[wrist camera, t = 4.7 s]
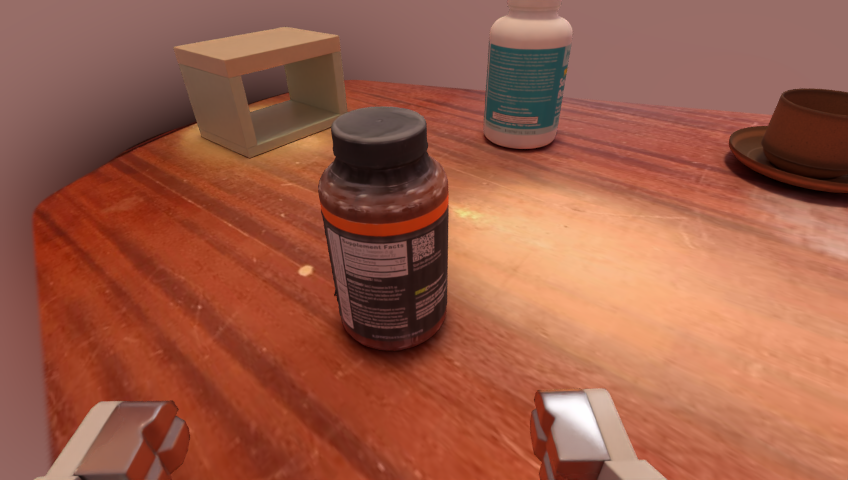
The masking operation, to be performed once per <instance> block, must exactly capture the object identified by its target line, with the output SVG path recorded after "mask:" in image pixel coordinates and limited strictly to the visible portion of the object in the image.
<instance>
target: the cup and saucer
mask: <svg viewBox="0 0 848 480" xmlns="http://www.w3.org/2000/svg"><path fill="white" fill-rule="evenodd" d="M729 147H730V149H731V151H732V152H733V154H734V155H735V157H736V158H737V159H738V160H739V161H741V162H742V163H743V164H744V165H746V166H747V167H749V168H751V169H752V170H754V171H756V172H758V173H760V174H762V175H765V176H767V177H769V178H772V179H775V180H778V181H780V182H784V183H787V184H791V185H794V186H798V187H803V188H807V189H813V190H819V191H826V192H836V193H848V92H842V91H835V90H826V89H793V90H788V91H785V92H784V93H783V94H782V95H781V97H780V99H779V102H778V104H777V106H776V109H775V111H774V113H773V116H772V118H771V120H770V123H769V125H768V126H757V127H749V128H744V129H740V130H738V131H736V132H734V133H733V134H732V135H731V136H730V139H729Z"/></svg>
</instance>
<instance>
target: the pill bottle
mask: <svg viewBox="0 0 848 480" xmlns="http://www.w3.org/2000/svg"><path fill="white" fill-rule="evenodd" d="M507 4H508V7H509V8H510V10H509V13H508V14H507V15H506V16H503V17H501V18H500V19H498V20H497V21H496V22H495V23H494V24H493V26H492V28H491V30H490V37H489V51H488V67H487V84H486V97H485V111H484V128H483V129H484V134H485V136H486V137H487V139H489V140H490V141H491V142H493V143H495V144H497V145H500V146H503V147H508V148H515V149H532V148H539V147H542V146H545V145H547V144H549V143H551V142H552V141H553V140H554V138H555V136H556V133H557V128H558V122H559V116H560V110H561V103H562V97H563V90H564V85H565V79H566V73H567V66H568V60H569V55H570V49H571V43H572V36H573V31H572V27H571V25H570V24H569V22H568V21H566V20H565V19H564V18H562V17H559V15H558V13H557V10H558V9H559V8H560V5H561V4H562V0H507Z"/></svg>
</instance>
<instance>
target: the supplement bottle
mask: <svg viewBox="0 0 848 480" xmlns="http://www.w3.org/2000/svg"><path fill="white" fill-rule="evenodd" d="M331 132H332V139H333V151H334V155H335V156H336V158H335V160H334V162H332V163H331V164H330V165H329V166H328V168H327V169H325V170H324V172H323V174H322V176H321V178H320V180H319V185H318V188H319V190H318V192H319V198H320V204H321V213H322V216H323V221H324V228H325V235H326V238H327V244H328V252H329V256H330V262H331V267H332V273H333V279H334V283H335V294H334V296H337V301H338V304H339V312H340V315H341V319H342V323H343V325H344V327H345V329H346V330H347V332H348V333H349V334H350V335H351V336H352V337H353V338H354V339H355V340H356V341H358V342H359V343H361V344H363V345H365V346H367V347H370V348H374V349H378V350H390V351H394V350H398V351H399V350H403V349H407V348H411V347H413V346H417V345H419V344H421V343H423V342H425V341H426V340H428V339H429V338H431V337H432V336H433V335H434V334H435V333H436V332H437V331H438V329H439V328H440V327H441V325H442V323H443V321H444V319H445V315H446V306H447V269H448V267H447V265H448V195H449V194H448V179H447V176H446V173H445V171H444V168H443V167H442V166H441V165H440V163H439V162H437V161H436V160H435V159H434V158H433V157H431V156H429V155H428V153H427V148H428V143H427V128H426V121H425V119H424V117H423V116H421V115H420V114H418V113H417V112H414V111H412V110H409V109H404V108H397V107H368V108H362V109H357V110H354V111H351V112H348V113H345V114H343V115H341V116H339V117H338V118H337V119H336V120H335V121H334V122H333V123H332V127H331Z"/></svg>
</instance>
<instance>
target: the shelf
mask: <svg viewBox="0 0 848 480" xmlns="http://www.w3.org/2000/svg"><path fill="white" fill-rule="evenodd" d="M174 51H175V54H176V58H177V61H178V63H179V67H180V70H181V73H182V76H183V79H184V83H185V86H186V89H187V92H188V95H189V99H190V102H191V105H192V108H193V111H194V114H195V117H196V121H197V124H198V127H199V130H200V133H201V136H202V137H204V138H206V139H208V140H210V141H212V142H215V143H217V144H219V145H221V146H224V147H226V148H228V149H230V150H233V151H235V152H237V153H239V154H241V155H244V156H246V157H248V158H251V157H254V156H256V155H259V154H262V153H264V152H267V151H269V150H272V149H275V148H277V147H280V146H282V145H285V144H288V143H290V142H293V141H296V140H298V139H301V138H303V137H306V136H309V135H311V134H314V133H317V132H319V131H322V130H324V129H327V128H330V127H332V123H333V122H334V121H335V120H336V119H337V118H338V117H339V116H341V115H343V114H345V113H348V112H347V103H346V94H345V86H344V77H343V68H342V59H341V52H340V51H341V49H340V41H339V36H337V35H331V34H325V33H319V32H313V31H307V30H301V29H295V28H289V27H282V28H277V29H271V30H265V31H261V32H254V33H249V34H243V35H237V36H232V37H226V38H221V39H215V40H210V41H204V42H198V43H193V44H187V45H181V46H176V47H174ZM281 65H284V67H285V73H286V78H287V84H288V89H289V94H290V99H291V100H289V101H285V102H282V103H279V104H276V105H272V106H269V107H266V108H263V109H259V110H256V111H253V112H250V111H249V107H248V103H247V100H246V95H245V91H244V87H243V83H242V79H241V76H240V75H244V74H248V73H252V72H256V71H260V70H264V69H268V68H272V67H277V66H281Z"/></svg>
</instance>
